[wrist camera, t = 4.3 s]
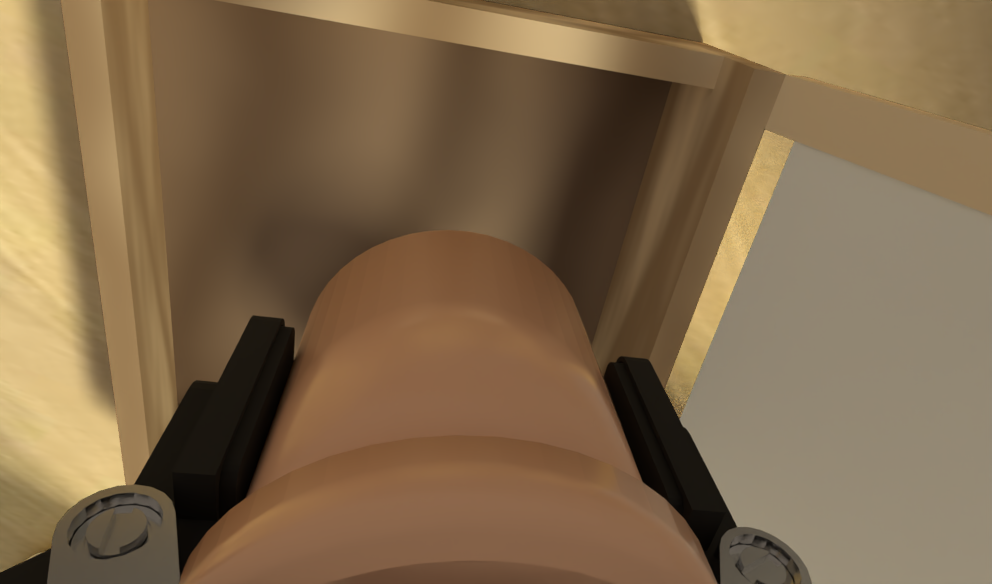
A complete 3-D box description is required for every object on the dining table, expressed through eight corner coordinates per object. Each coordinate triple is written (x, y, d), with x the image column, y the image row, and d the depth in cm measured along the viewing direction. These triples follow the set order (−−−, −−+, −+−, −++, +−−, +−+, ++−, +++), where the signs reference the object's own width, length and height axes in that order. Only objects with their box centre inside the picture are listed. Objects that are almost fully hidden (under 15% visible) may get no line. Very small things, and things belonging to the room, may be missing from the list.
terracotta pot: (640, 236, 13) (857, 552, 6) (562, 483, 16) (650, 869, 9) (288, 186, 12) (89, 503, 5) (281, 462, 15) (152, 880, 8)
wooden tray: (703, 42, 23) (786, 74, 18) (565, 475, 34) (592, 574, 28) (115, -71, 20) (7, -72, 14) (163, 453, 30) (111, 562, 25)
